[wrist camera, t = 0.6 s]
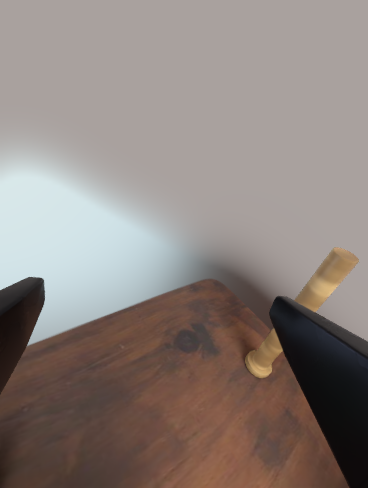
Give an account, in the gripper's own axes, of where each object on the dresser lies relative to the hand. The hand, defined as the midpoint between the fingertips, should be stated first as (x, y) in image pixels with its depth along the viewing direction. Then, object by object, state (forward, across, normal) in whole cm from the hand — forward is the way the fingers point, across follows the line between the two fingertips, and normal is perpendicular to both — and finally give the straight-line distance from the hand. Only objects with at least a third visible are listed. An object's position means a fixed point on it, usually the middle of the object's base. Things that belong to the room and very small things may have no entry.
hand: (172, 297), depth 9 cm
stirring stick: (+8, -14, +15) cm, 22 cm away
